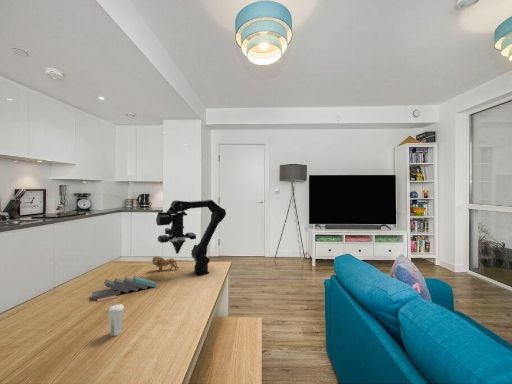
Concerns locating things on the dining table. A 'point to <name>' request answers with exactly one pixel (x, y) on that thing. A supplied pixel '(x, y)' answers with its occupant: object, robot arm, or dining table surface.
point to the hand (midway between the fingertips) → (177, 253)
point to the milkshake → (115, 319)
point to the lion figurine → (163, 263)
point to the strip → (106, 298)
